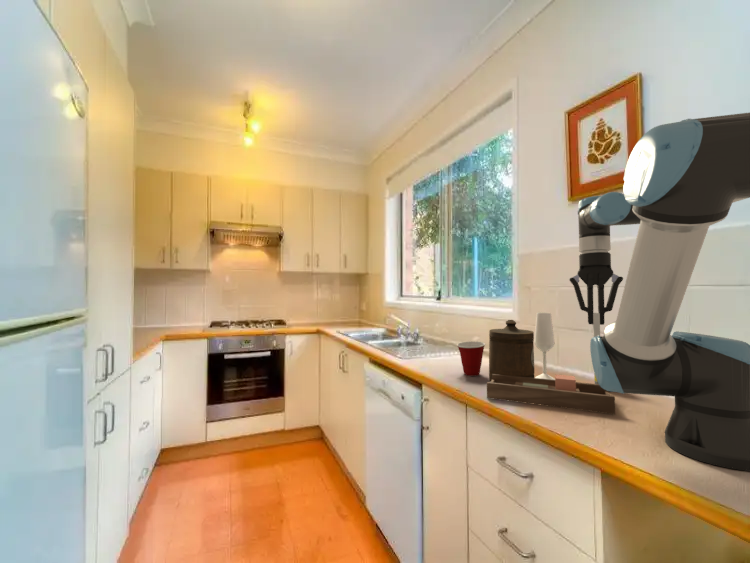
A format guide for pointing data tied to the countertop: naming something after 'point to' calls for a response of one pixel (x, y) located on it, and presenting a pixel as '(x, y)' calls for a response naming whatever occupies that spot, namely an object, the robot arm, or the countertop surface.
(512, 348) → the wooden container
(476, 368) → the plastic cup
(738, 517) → the countertop surface
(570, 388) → the block
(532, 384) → the box
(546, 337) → the champagne flute
